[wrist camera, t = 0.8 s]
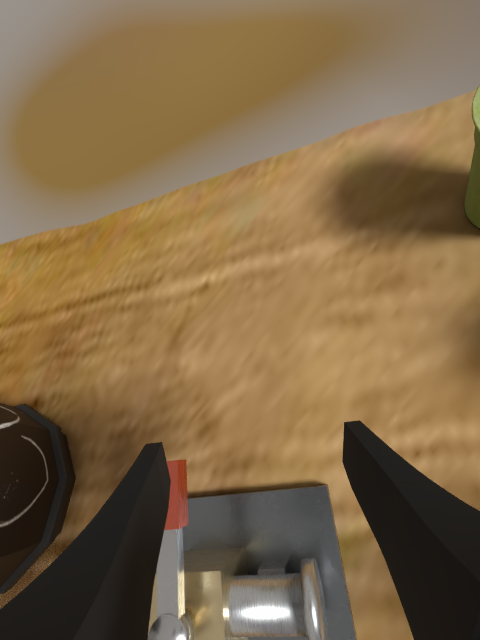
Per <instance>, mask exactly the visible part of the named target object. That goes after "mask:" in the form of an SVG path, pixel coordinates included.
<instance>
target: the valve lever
mask: <svg viewBox="0 0 480 640" xmlns="http://www.w3.org/2000/svg"><path fill="white" fill-rule="evenodd" d="M167 466H168V470H169V475H170V479H171V485H170V498H169V508H168V513H167V519H166V524H165V529H164V534H163V539H162V544H161V549H160V554H159V559H158V564H157V620H156V621H155V622H154V623H153V624H152V626H151V628H150V631H149V635H148V640H194V625H193V622H192V619H191V617H190V616H189V614H188V613H187V612H186V611H185V592H184V557H183V527H185V526H187V525H188V500H187V472H186V460H175V461H167Z"/></svg>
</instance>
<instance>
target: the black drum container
mask: <svg viewBox="0 0 480 640" xmlns="http://www.w3.org/2000/svg"><path fill="white" fill-rule="evenodd" d="M75 479H76V478H75V473H74V469H73V464H72V460H71V455H70V451H69V447H68V442H67V438H66V435H65V434H63V433H62V431H61V428H60V427H59V426H57V425H56V424H54V423H53V422H52V421H50V420H49V419H47V418H46V417H44V416H43V415H41V414H40V413H38V412H37V411H35V410H34V409H33V408H31V407H30V406H28V405H26V404H22V405H18V406H14V407H12V406H8V405H5V404H1V403H0V594H2V593H5V592H7V591H8V590H9V589H11V588H12V587H13V586H14V585H15V584H16V583H17V581H18V580H19V579H20V578H21V577H22V576H23V575H24V574H25V573H26V571H27V570H28V569H29V568H30V567H31V566H32V565H33V564H34V563H35V561H36V560H37V559H38V558H39V557H40V556H41V555H42V554H43V552H44V551H45V550H46V549H47V548H48V547H49V546H50V545H51V544H52V542H53V541H54V540H55V538H56V537H57V536H58V535H59V533H60V532H61V530H62V526H63V523H64V519H65V515H66V512H67V508H68V505H69V501H70V497H71V494H72V490H73V487H74V483H75Z"/></svg>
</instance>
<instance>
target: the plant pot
mask: <svg viewBox="0 0 480 640" xmlns="http://www.w3.org/2000/svg"><path fill="white" fill-rule="evenodd" d="M472 118H473V122H474V125H475V133H474V140H475V148H474V153H473V158H472V164H471V169H470V175H469V180H468V185H467V190H466V196H465V204H464V205H465V213H466V215H467V217H468V218H469V220H470V221H471V222H472V223H473V224H474V225H475V226H476V227H478V228H479V229H480V86H479V87H478V89H477V91H476V93H475V95H474V99H473V102H472Z"/></svg>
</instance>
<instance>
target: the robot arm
mask: <svg viewBox="0 0 480 640" xmlns="http://www.w3.org/2000/svg"><path fill="white" fill-rule="evenodd" d="M343 464H344V467H345V470H346V473H347V476H348V479H349V482H350V485H351V487H352V490H353V492H354V494H355V496H356V498H357V500H358V502H359V505H360V507H361V509H362V511H363V513H364V515H365V517H366V519H367V521H368V523H369V525H370V528H371V530H372V532H373V534H374V536H375V538H376V540H377V542H378V544H379V546H380V549H381V551H382V553H383V556H384V558H385V560H386V563H387V566H388V568H389V571H390V574H391V576H392V579H393V582H394V584H395V587H396V590H397V592H398V595H399V598H400V601H401V603H402V606H403V609H404V612H405V615H406V617H407V620H408V623H409V626H410V629H411V632H412V635H413V638H414V640H480V511H478V510H477V509H475V508H473V507H471V506H470V505H468V504H466V503H465V502H463V501H462V500H460V499H458V498H457V497H455V496H454V495H452V494H451V493H449V492H448V491H446V490H445V489H443V488H442V487H440V486H439V485H437V484H436V483H434V482H433V481H432V480H430V479H429V478H427V477H426V476H425V475H423V474H422V473H421V472H419V471H418V470H417V469H415V468H414V467H413V466H412V465H410V464H409V463H408V462H407V461H405V460H404V459H403V458H402V457H401V456H399V455H398V454H397V453H396V452H395V451H393V450H392V449H391V448H390V447H389V446H388V445H387V444H385V443H384V442H383V441H382V440H381V439H380V438H379V437H378V436H376V435H375V434H374V433H373V432H372V431H371V430H370V429H369V428H368V427H366V426H365V425H364V424H363V423H362V422H361V421H351V422H344V441H343ZM170 485H171V479H170V475H169V470H168V466H167V462H166V457H165V453H164V448H163V444H162V442H160V443H151V444H146V445H145V446H144V448H143V449H142V451H141V452H140V454H139V456H138V457H137V459H136V460H135V462H134V463H133V465H132V466H131V468H130V469H129V471H128V472H127V474H126V475H125V477H124V478H123V480H122V481H121V482H120V484H119V485H118V487H117V488H116V490H115V491H114V492H113V494H112V495H111V496H110V498H109V499H108V500H107V502H106V503H105V504H104V505H103V507H102V508H101V509H100V511H99V512H98V513H97V514H96V516H95V517H94V518H93V519H92V521H91V522H90V523H89V524H88V525H87V526H86V528H85V529H84V530H83V531H82V532H81V533H80V534H79V536H78V537H77V538H76V539H75V540H74V541H73V542H72V543H71V544H70V545H69V546H68V547H67V548H66V549H65V551H64V552H63V553H62V554H61V555H60V556H59V557H58V558H57V559H56V560H55V561H54V562H53V563H52V564H51V565H50V566H49V567H48V568H47V569H46V570H45V571H44V572H42V573H41V574H40V575H39V576H38V577H37V578H36V579H35V580H34V581H33V582H32V583H30V584H29V585H28V586H27V587H26V588H25V589H24V590H23V591H21V592H20V593H19V594H18V595H17V596H16V597H15V598H13V599H12V600H11V601H10V602H9V603H8V604H6V605H5V606H4V607H3V608H1V609H0V640H148V630H149V621H150V612H151V603H152V594H153V586H154V580H155V574H156V569H157V564H158V559H159V554H160V549H161V544H162V539H163V534H164V529H165V524H166V519H167V513H168V508H169V498H170Z"/></svg>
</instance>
